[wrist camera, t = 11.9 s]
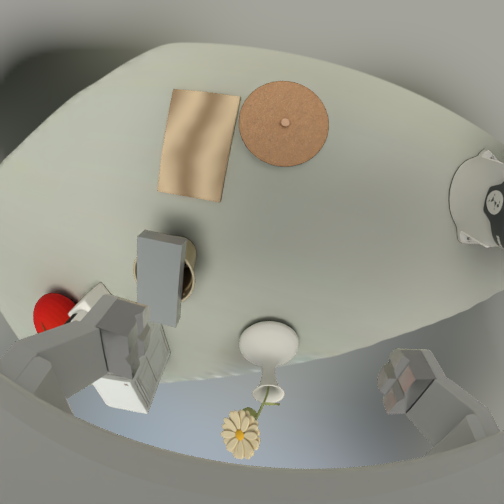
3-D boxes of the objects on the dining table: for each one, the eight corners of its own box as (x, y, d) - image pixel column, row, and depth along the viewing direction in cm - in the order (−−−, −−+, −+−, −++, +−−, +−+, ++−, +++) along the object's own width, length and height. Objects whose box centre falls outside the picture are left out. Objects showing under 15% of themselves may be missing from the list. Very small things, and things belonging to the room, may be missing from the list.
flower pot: (217, 244, 45) (206, 269, 37) (191, 286, 49) (178, 315, 41) (167, 215, 44) (146, 233, 36) (146, 259, 47) (125, 283, 39)
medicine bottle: (105, 320, 54) (79, 356, 43) (84, 295, 51) (54, 328, 40) (123, 308, 52) (97, 345, 41) (101, 281, 50) (69, 315, 39)
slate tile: (187, 238, 36) (181, 245, 33) (180, 317, 41) (175, 327, 39) (145, 229, 36) (137, 236, 33) (143, 308, 41) (137, 317, 38)
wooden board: (240, 97, 36) (240, 96, 35) (220, 200, 42) (219, 202, 41) (175, 90, 36) (173, 89, 35) (159, 189, 42) (157, 191, 41)
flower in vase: (281, 306, 49) (287, 428, 26) (307, 346, 53) (322, 458, 30) (220, 333, 52) (196, 446, 30) (251, 368, 56) (242, 474, 33)
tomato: (43, 303, 54) (20, 326, 44) (58, 274, 50) (30, 298, 40) (83, 343, 57) (64, 370, 48) (103, 319, 54) (81, 350, 44)
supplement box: (121, 317, 53) (84, 372, 37) (160, 318, 52) (129, 381, 37) (134, 351, 57) (106, 407, 41) (171, 354, 56) (148, 415, 40)
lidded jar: (228, 122, 38) (217, 118, 29) (284, 77, 34) (289, 60, 26) (276, 175, 40) (280, 187, 32) (332, 132, 37) (350, 131, 29)
